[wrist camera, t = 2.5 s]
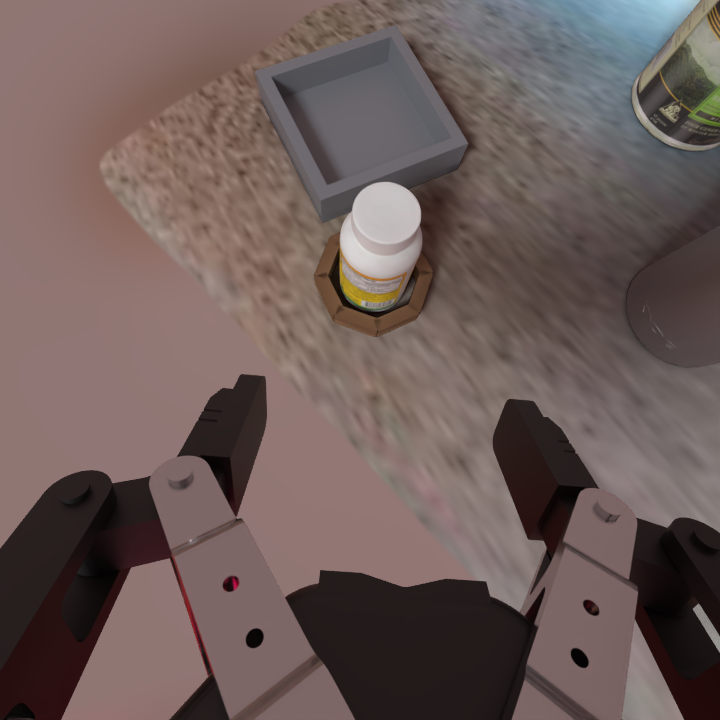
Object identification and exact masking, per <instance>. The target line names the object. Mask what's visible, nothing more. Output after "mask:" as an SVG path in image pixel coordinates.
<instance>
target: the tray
mask: <svg viewBox="0 0 720 720" xmlns="http://www.w3.org/2000/svg"><path fill="white" fill-rule="evenodd" d="M255 74H256V78H257V83H258V87H259V91H260V96H261V100H262V104H263V106H264V108H265V110H266V112H267V114H268V116H269V118H270V120H271V122H272V124H273V126H274V128H275V130H276V132H277V134H278V136H279V138H280V140H281V142H282V144H283V146H284V148H285V150H286V151H287V153H288V155H289V157H290V159H291V161H292V163H293V165H294V167H295V169H296V171H297V173H298V175H299V177H300V179H301V181H302V183H303V185H304V187H305V189H306V191H307V193H308V195H309V197H310V199H311V201H312V203H313V205H314V207H315V209H316V211H317V213H318V215H319V217H320V219H321V221H322V223H323V222H326V221H328V220H331V219H334V218H336V217H339V216H341V215H344V214H346V213H349V212H351V211H352V207H353V203H354V201H355V198H356V197H357V195H358V194H359V193H360V192H361V191H362V190H363V189H364V188H366V187H367V186H369V185H371V184H374V183H378V182H392V183H396V184H399V185H401V186H403V187H405V188H406V189H409V188H412V187H414V186H417V185H419V184H422V183H424V182H427V181H429V180H432V179H434V178H437V177H439V176H442V175H444V174H447V173H450V172H452V171H455V170H457V169H458V167H459V164H460V162H461V160H462V157H463V155H464V153H465V150H466V148H467V146H468V142H467V140H466V138H465V137H464V135H463V134H462V132H461V130H460V129H459V127H458V125H457V124H456V122H455V120H454V119H453V117H452V116H451V114H450V112H449V111H448V109H447V107H446V106H445V104H444V102H443V101H442V99H441V98H440V96H439V94H438V93H437V91H436V89H435V88H434V86H433V84H432V83H431V81H430V79H429V78H428V76H427V75H426V73H425V71H424V70H423V68H422V66H421V65H420V63H419V61H418V60H417V58H416V57H415V55H414V53H413V52H412V50H411V48H410V47H409V45H408V43H407V42H406V40H405V39H404V37H403V35H402V34H401V32H400V30H399V29H398V27H397V25H394V26H391V27H388V28H385V29H382V30H379V31H376V32H373V33H370V34H367V35H364V36H361V37H357V38H354V39H351V40H348V41H345V42H342V43H339V44H336V45H333V46H330V47H327V48H324V49H321V50H318V51H315V52H312V53H309V54H306V55H303V56H300V57H297V58H294V59H290V60H287V61H284V62H281V63H278V64H275V65H272V66H269V67H266V68H263V69H260V70H257V71H255Z"/></svg>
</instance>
